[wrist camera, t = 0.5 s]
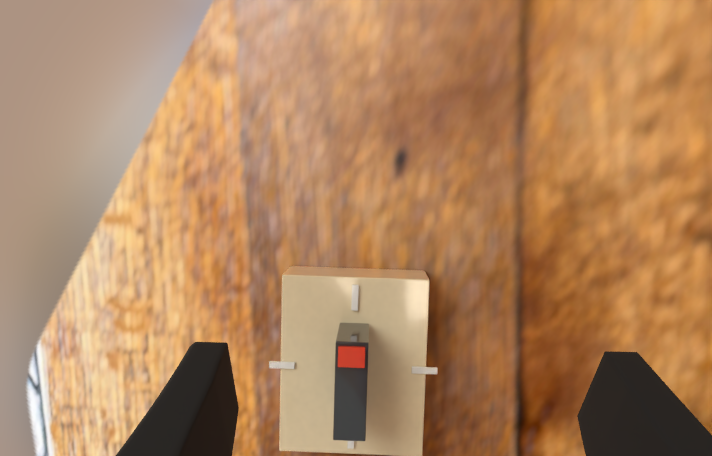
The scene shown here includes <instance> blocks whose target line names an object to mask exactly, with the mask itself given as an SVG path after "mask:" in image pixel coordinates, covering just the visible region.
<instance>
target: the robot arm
mask: <svg viewBox="0 0 712 456" xmlns="http://www.w3.org/2000/svg"><path fill="white" fill-rule="evenodd" d="M237 416H238V402H237V396H236V391H235V385H234V379H233V373H232V367H231V362H230V356H229V350H228V344H227V343H214V342H195V343H194V344H192V345H191V346H190V347H189V349H188V351H187V352H186V354H185V356H184V358H183V359H182V361H181V362H180V364H179V366H178V367H177V369H176V370H175V372H174V374H173V375H172V377H171V378H170V380H169V381H168V383H167V384H166V386H165V387H164V389H163V390H162V392H161V393H160V395H159V396H158V398H157V399H156V401H155V402H154V404H153V405H152V407H151V408H150V409H149V411H148V412H147V414H146V415H145V416H144V418H143V419H142V421H141V422H140V423H139V425H138V426H137V428H136V429H135V430H134V432H133V433H132V435H131V436H130V437H129V439H128V440H127V441H126V443H125V444H124V445H123V447H122V448H121V449H120V451H119V452H118V453H117V455H116V456H232V450H233V444H234V437H235V430H236V423H237ZM578 421H579V425H580V430H581V435H582V440H583V445H584V449H585V453H586V456H712V435H711V434H710V433H709V432H708V431H707V430H706V428H705V427H704V426H703V425H702V424H701V423H700V422H699V421H698V420H697V419H696V418H695V416H694V415H693V414H692V413H691V412H690V411H689V410H688V409H687V408H686V406H685V405H684V404H683V403H682V402H681V401H680V400H679V399H678V398H677V396H676V395H675V394H674V393H673V392H672V391H671V390H670V389H669V387H668V386H667V385H666V384H665V383H664V382H663V381H662V380H661V379H660V377H659V376H658V375H657V374H656V373H655V372H654V371H653V370H652V368H651V367H650V366H649V365H648V364H647V363H646V362H645V361H644V359H643V358H642V357H641V356H640V355H639V354H638V353H637V352H605V353H604V355H603V357H602V360H601V362H600V364H599V367H598V369H597V371H596V374H595V376H594V378H593V381H592V383H591V385H590V388H589V390H588V392H587V395H586V397H585V400H584V402H583V404H582V407H581V409H580V411H579V414H578Z"/></svg>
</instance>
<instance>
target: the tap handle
mask: <svg viewBox="0 0 712 456" xmlns="http://www.w3.org/2000/svg"><path fill="white" fill-rule="evenodd" d="M368 347H369V324H366V323H340V324H339V328H338V333H337V338H336V345H335V383H334V422H333V440H344V441H365V440H366V410H367V379H368Z"/></svg>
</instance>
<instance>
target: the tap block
mask: <svg viewBox="0 0 712 456" xmlns="http://www.w3.org/2000/svg"><path fill="white" fill-rule="evenodd" d="M429 288H430V280H429V278H428V276H427V274H426V272H425V271H424V270H400V269H370V268H340V267H311V266H290V267H289V268H288V269H287V270H286V271H285V272H284V274H283V275H282V310H281V361H269V368H281V372H280V434H279V450H280V451H298V452H322V453H346V454H370V455H394V456H422V453H423V429H424V406H425V382H426V374H437V370H438V368H437V367H426V359H427V335H428V312H429ZM340 323H366V324H369V347H368V379H367V410H366V440H365V441H344V440H333V422H334V383H335V345H336V338H337V333H338V328H339V324H340Z"/></svg>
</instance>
